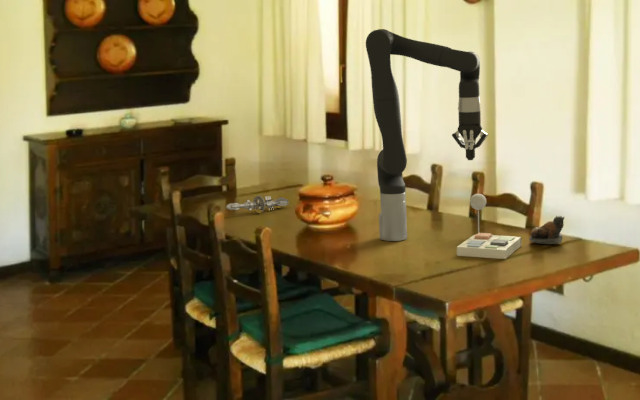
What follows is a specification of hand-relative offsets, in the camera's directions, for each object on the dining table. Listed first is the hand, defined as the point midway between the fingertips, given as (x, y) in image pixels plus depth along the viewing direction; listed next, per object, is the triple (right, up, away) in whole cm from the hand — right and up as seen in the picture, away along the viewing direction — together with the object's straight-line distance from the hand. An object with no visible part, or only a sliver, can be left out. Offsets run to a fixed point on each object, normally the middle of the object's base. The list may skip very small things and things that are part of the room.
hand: (470, 159), depth 313 cm
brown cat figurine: (+26, -29, -4) cm, 39 cm away
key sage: (+11, -29, -7) cm, 32 cm away
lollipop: (+6, -27, +15) cm, 31 cm away
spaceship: (-79, -20, +75) cm, 111 cm away
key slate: (0, -31, -10) cm, 32 cm away
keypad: (+5, -31, -10) cm, 33 cm away
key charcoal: (+7, -30, -14) cm, 34 cm away
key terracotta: (+4, -28, -3) cm, 29 cm away
